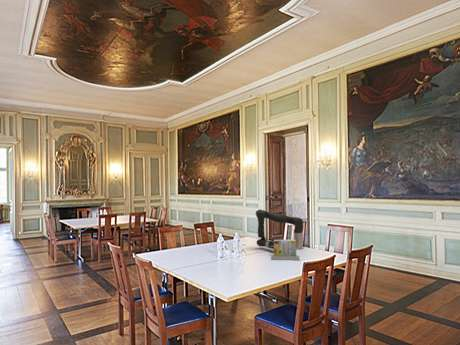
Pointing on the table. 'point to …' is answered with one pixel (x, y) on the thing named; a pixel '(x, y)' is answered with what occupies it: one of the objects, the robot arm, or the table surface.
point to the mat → (285, 258)
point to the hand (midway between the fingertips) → (281, 246)
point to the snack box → (284, 247)
